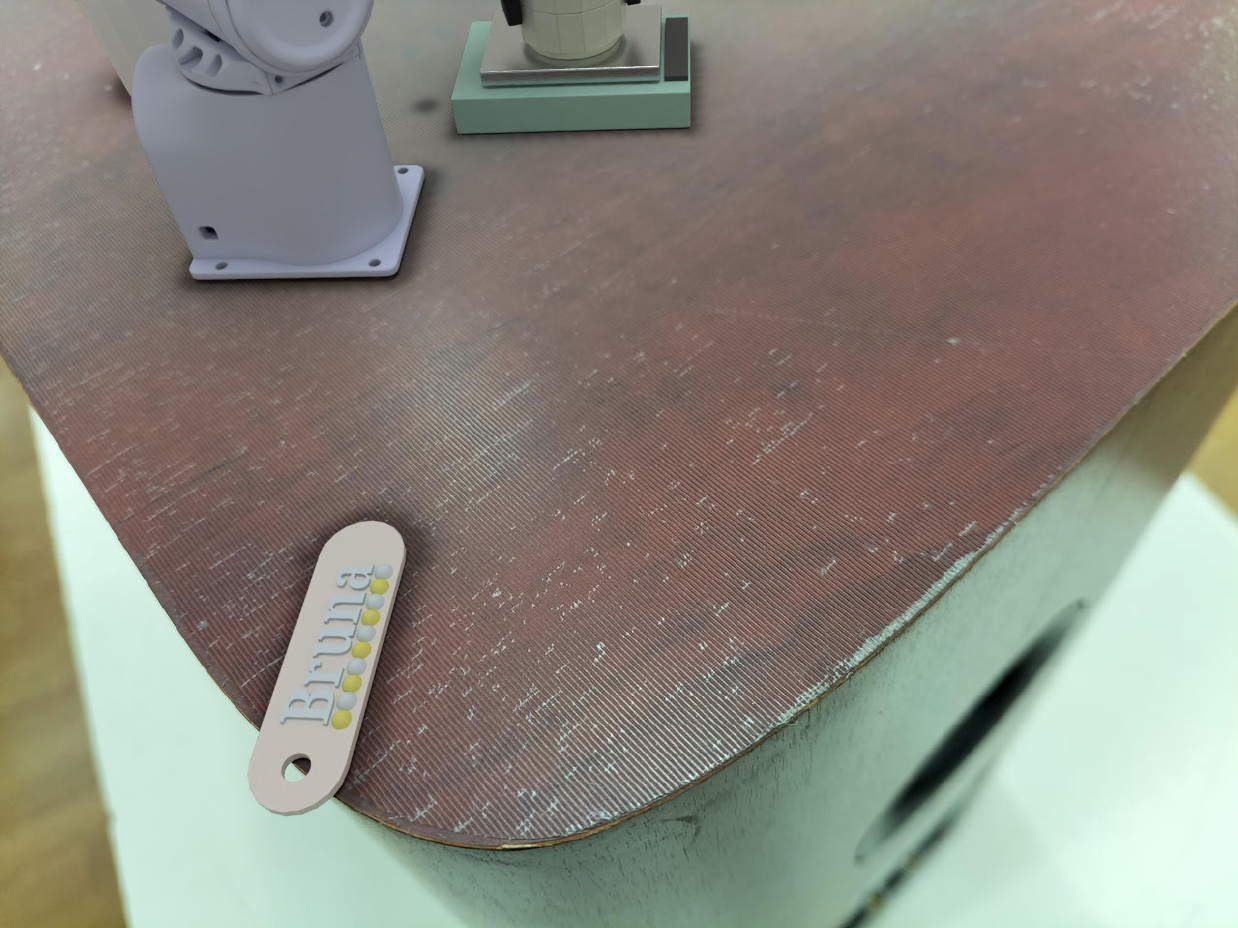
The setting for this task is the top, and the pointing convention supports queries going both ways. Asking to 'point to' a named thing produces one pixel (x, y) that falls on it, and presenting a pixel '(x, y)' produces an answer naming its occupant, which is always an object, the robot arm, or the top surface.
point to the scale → (576, 94)
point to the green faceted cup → (572, 26)
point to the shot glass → (126, 30)
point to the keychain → (328, 669)
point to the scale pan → (621, 63)
